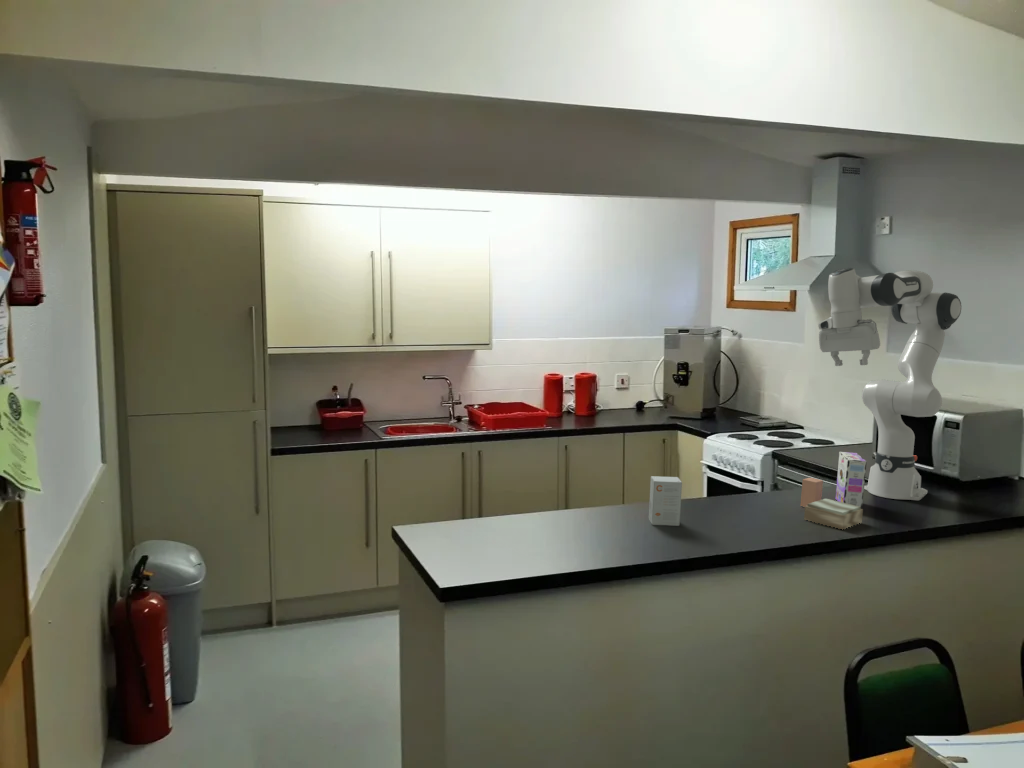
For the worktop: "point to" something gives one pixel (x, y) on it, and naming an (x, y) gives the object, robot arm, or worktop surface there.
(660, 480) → the small box
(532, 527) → the worktop surface
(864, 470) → the candy box
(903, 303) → the robot arm
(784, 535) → the worktop surface
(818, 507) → the birch plinth
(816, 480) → the terracotta block
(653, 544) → the worktop surface
